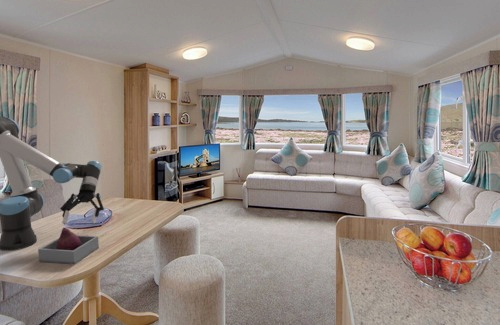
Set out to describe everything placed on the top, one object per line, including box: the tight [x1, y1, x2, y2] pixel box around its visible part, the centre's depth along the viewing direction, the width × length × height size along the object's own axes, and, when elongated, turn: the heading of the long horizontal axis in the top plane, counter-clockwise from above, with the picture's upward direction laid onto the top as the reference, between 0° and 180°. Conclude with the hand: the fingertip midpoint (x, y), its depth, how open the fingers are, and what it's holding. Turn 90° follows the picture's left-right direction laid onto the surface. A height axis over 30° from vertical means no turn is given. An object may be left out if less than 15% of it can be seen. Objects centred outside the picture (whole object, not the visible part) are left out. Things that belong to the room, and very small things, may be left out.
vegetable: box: [57, 226, 82, 250], centre depth 134 cm, size 10×10×15 cm
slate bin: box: [37, 234, 100, 266], centre depth 136 cm, size 17×17×6 cm
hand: (78, 222), depth 145 cm, fingers open, 13 cm apart
